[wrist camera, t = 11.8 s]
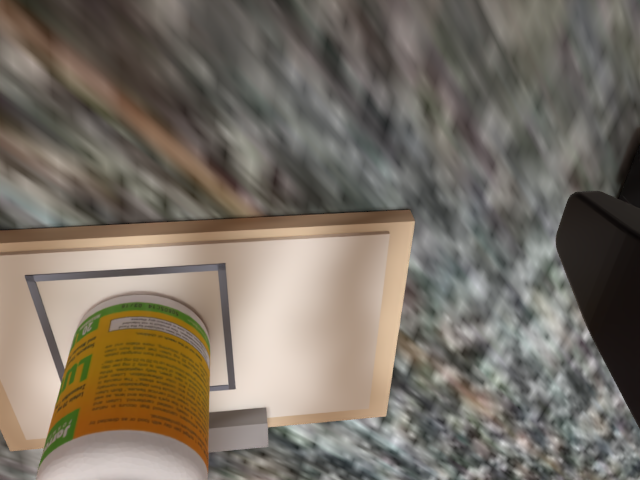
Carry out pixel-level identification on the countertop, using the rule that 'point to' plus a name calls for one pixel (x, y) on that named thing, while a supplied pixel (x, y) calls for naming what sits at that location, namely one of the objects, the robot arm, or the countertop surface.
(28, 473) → the countertop surface
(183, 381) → the supplement bottle
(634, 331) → the robot arm
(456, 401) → the countertop surface
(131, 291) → the beige rectangular board
